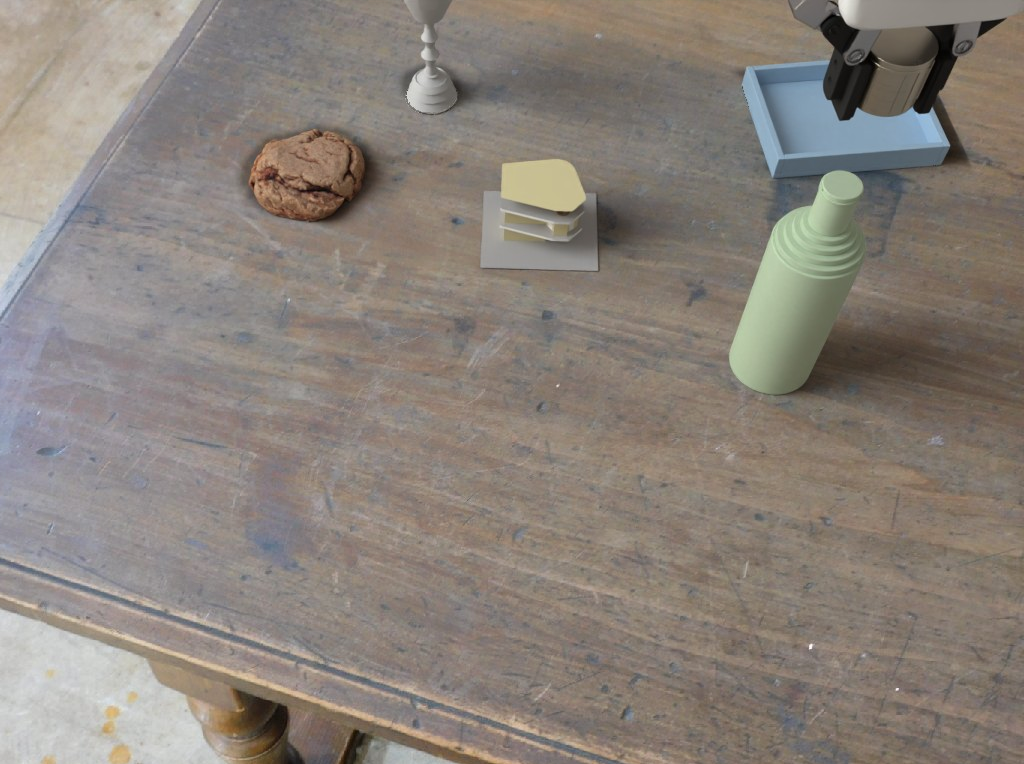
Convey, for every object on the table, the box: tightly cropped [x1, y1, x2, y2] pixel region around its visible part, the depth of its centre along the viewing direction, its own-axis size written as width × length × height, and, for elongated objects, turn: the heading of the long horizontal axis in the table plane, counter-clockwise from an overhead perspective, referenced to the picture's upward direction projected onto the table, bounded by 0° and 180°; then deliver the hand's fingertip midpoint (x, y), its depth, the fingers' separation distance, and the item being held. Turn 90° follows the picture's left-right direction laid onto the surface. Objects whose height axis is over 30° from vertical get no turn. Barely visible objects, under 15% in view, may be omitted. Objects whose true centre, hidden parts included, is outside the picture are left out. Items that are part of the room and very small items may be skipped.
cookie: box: [248, 128, 366, 222], centre depth 96 cm, size 10×11×3 cm
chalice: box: [403, 0, 458, 113], centre depth 95 cm, size 7×7×18 cm
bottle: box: [728, 170, 868, 396], centre depth 78 cm, size 6×6×20 cm
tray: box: [741, 59, 951, 179], centre depth 98 cm, size 15×12×2 cm
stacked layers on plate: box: [479, 158, 599, 272], centre depth 91 cm, size 10×9×6 cm
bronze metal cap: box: [857, 27, 939, 117], centre depth 61 cm, size 4×4×4 cm
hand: (877, 98), depth 63 cm, fingers closed on bronze metal cap, 3 cm apart
